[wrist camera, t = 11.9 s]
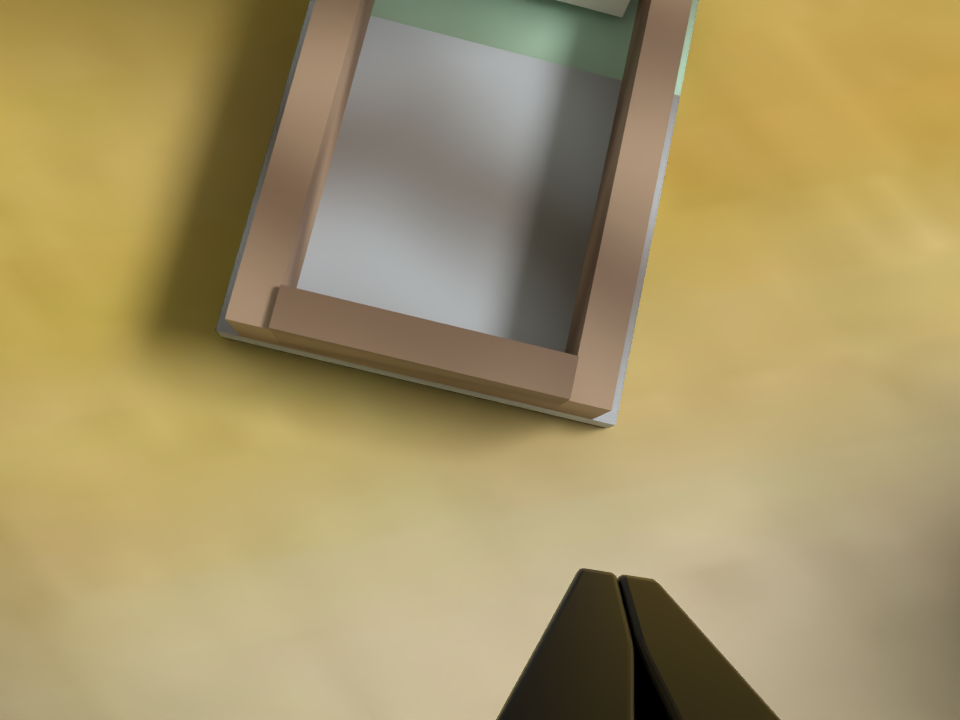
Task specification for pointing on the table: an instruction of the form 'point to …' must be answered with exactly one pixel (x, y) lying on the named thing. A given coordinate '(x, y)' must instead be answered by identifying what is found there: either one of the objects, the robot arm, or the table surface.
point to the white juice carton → (602, 5)
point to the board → (466, 195)
